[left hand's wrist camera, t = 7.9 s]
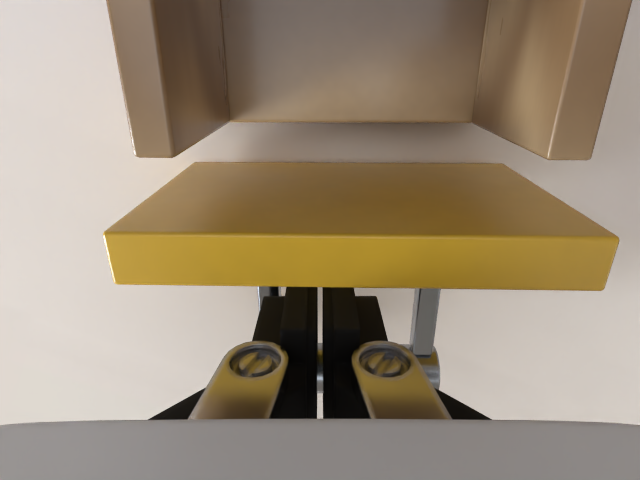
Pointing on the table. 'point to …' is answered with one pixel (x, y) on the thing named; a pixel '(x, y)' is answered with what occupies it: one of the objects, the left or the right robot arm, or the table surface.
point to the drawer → (364, 178)
